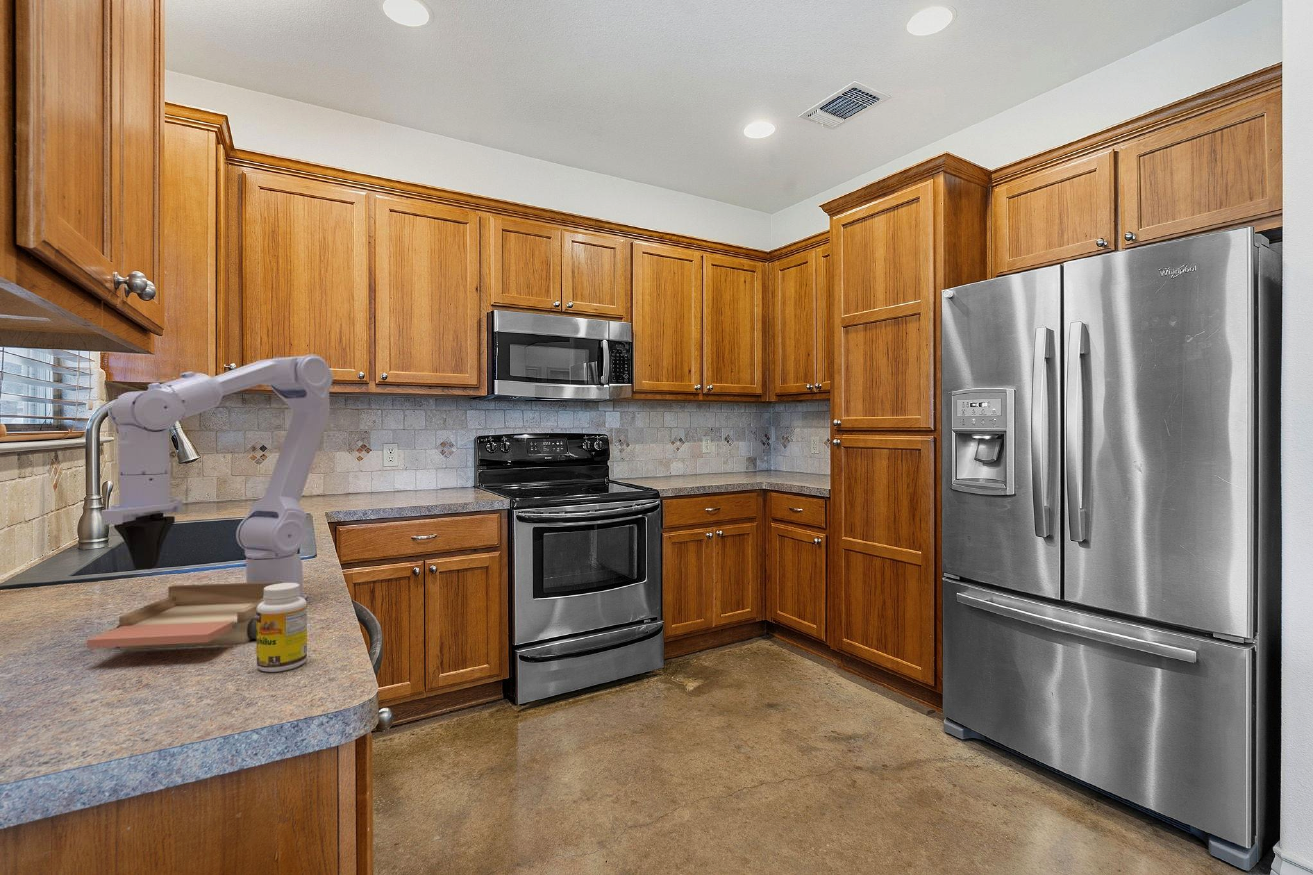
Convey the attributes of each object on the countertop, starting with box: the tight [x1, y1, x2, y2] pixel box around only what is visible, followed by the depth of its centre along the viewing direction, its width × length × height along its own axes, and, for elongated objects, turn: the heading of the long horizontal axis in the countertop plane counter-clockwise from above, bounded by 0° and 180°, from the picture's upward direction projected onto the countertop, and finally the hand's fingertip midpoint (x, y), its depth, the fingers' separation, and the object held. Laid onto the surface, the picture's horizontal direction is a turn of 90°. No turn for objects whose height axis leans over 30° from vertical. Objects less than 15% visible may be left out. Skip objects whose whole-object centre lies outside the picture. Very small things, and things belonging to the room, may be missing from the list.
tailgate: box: [86, 621, 237, 649], centre depth 84 cm, size 1×14×7 cm
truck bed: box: [115, 582, 282, 650], centre depth 94 cm, size 12×18×6 cm, turn 98°
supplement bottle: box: [256, 583, 308, 673], centre depth 81 cm, size 6×6×10 cm
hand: (145, 568), depth 91 cm, fingers closed
